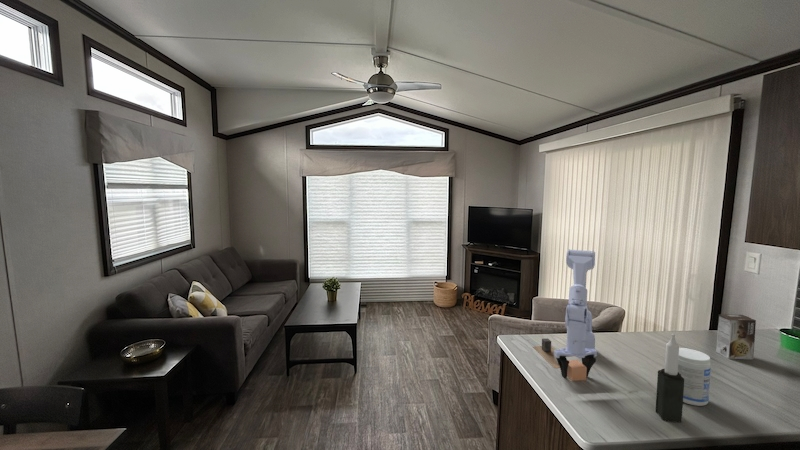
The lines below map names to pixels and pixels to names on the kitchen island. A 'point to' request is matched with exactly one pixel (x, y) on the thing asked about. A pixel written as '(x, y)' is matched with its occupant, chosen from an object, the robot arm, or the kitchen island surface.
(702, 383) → the supplement tub
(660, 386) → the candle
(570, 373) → the peach cube
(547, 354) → the stand
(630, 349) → the kitchen island surface
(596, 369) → the kitchen island surface
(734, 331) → the printed cardboard box
